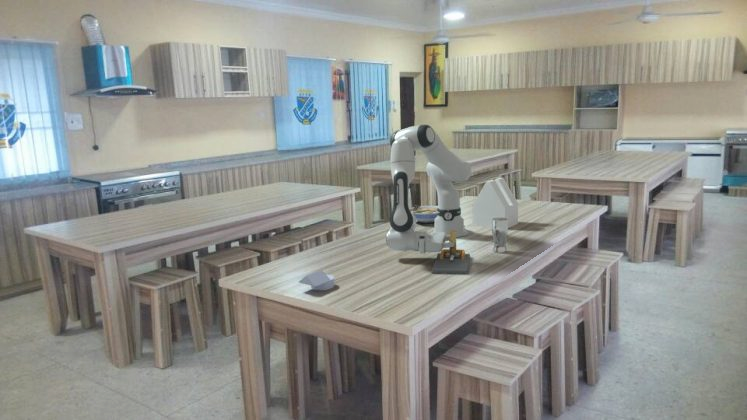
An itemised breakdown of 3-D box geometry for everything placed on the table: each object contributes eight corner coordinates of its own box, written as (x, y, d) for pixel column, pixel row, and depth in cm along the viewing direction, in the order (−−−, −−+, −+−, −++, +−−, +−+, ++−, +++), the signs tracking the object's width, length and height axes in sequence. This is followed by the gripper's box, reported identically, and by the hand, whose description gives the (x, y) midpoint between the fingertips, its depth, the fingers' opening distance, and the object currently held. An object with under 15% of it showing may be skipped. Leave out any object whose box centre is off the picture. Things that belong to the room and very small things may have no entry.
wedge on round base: (315, 295, 201) (339, 285, 211) (314, 277, 200) (338, 268, 210) (298, 290, 207) (322, 281, 217) (297, 273, 205) (321, 265, 215)
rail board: (437, 256, 243) (437, 249, 243) (469, 257, 240) (469, 249, 239) (432, 273, 220) (431, 264, 220) (467, 274, 217) (467, 265, 217)
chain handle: (446, 254, 240) (446, 229, 238) (460, 254, 239) (459, 229, 237) (444, 261, 229) (443, 236, 227) (458, 261, 228) (458, 236, 226)
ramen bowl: (445, 227, 299) (445, 212, 297) (404, 227, 303) (403, 212, 302) (448, 217, 323) (448, 203, 321) (410, 217, 327) (409, 204, 326)
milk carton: (517, 224, 299) (518, 178, 294) (504, 229, 287) (504, 182, 282) (486, 220, 311) (486, 176, 306) (472, 225, 299) (472, 180, 295)
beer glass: (496, 254, 243) (496, 221, 240) (489, 250, 249) (489, 218, 246) (510, 252, 245) (510, 219, 242) (503, 248, 251) (503, 216, 248)
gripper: (426, 242, 250) (456, 242, 247) (420, 254, 230) (453, 255, 227) (425, 228, 248) (456, 229, 245) (419, 240, 229) (453, 240, 226)
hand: (454, 241), depth 236 cm, fingers open, 8 cm apart
